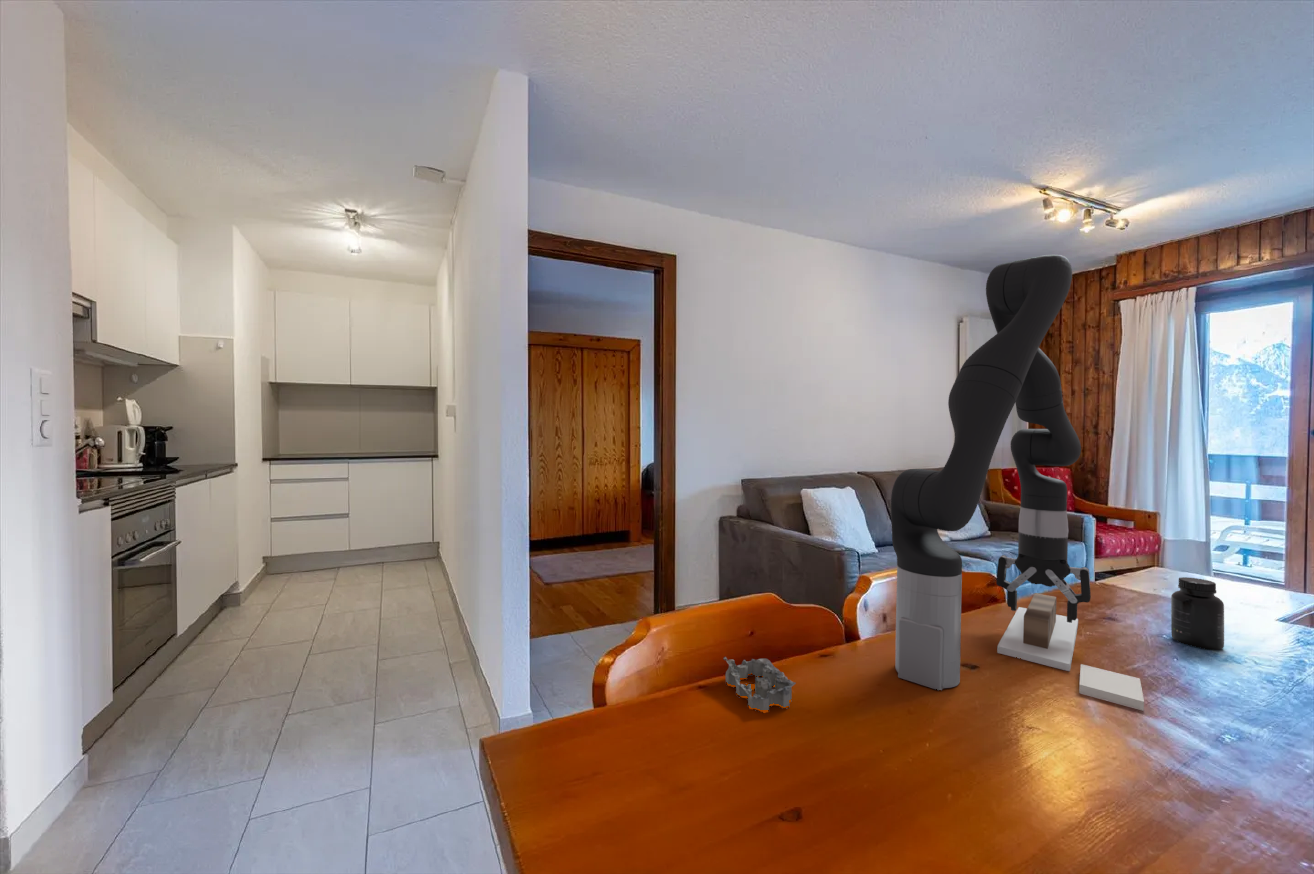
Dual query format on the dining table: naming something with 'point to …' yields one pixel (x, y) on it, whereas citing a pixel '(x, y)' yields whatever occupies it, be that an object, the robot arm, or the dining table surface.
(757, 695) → the cookie cutter
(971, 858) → the dining table surface
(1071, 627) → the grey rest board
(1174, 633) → the supplement bottle
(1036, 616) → the brown wooden block
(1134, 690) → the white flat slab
